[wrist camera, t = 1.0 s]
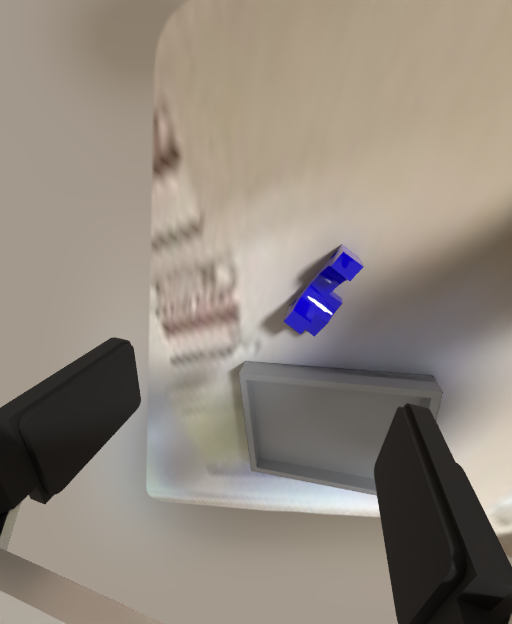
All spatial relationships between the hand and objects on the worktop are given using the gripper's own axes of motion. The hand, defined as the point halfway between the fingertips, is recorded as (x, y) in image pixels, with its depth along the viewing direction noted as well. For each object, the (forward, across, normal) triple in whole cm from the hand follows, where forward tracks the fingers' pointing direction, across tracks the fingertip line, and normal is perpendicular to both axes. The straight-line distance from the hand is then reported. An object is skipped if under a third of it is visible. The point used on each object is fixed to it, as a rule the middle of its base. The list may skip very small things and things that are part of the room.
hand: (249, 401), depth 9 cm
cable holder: (+19, -3, +1) cm, 19 cm away
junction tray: (+18, -6, +18) cm, 27 cm away
